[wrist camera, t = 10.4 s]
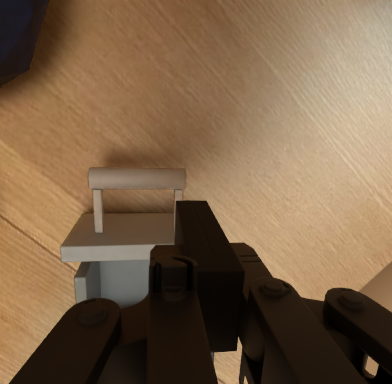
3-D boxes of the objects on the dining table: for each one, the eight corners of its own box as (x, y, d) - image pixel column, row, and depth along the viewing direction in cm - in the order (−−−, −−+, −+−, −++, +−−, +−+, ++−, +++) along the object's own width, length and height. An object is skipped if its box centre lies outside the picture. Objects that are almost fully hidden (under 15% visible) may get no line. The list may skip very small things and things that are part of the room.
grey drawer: (78, 157, 25) (53, 174, 19) (199, 159, 27) (214, 175, 20) (89, 331, 30) (72, 392, 24) (192, 324, 32) (202, 380, 25)
